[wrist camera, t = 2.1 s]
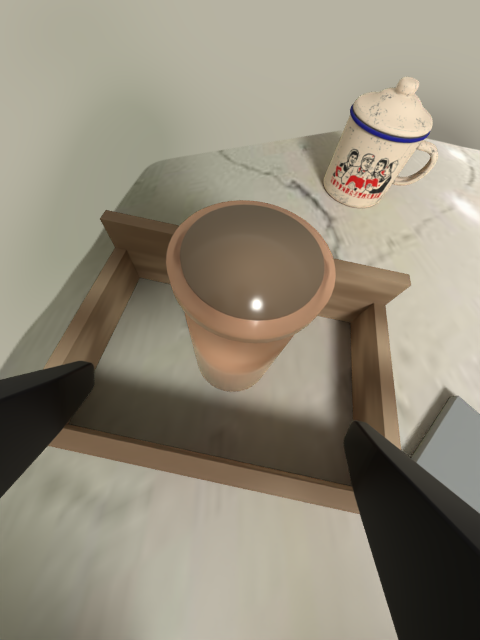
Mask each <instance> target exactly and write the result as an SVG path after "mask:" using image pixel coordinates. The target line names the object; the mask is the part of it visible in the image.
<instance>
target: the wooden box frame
mask: <svg viewBox="0 0 480 640" xmlns="http://www.w3.org/2000/svg"><path fill="white" fill-rule="evenodd" d="M100 220H101V222H102V224H103V225H104V227H105V229H106V231H107V233H108V235H109V237H110V238H111V240H112V242H113V244H114V246H115V249H114V250H113V252H112V254H111V255H110V257H109V259H108V260H107V262H106V264H105V265H104V267H103V269H102V271H101V272H100V274H99V276H98V277H97V279H96V281H95V282H94V284H93V286H92V287H91V289H90V291H89V292H88V294H87V296H86V298H85V299H84V301H83V303H82V304H81V306H80V308H79V309H78V311H77V313H76V314H75V316H74V318H73V319H72V321H71V323H70V325H69V326H68V328H67V330H66V331H65V333H64V335H63V336H62V338H61V340H60V341H59V343H58V345H57V346H56V348H55V350H54V352H53V353H52V355H51V357H50V358H49V360H48V362H47V363H46V365H45V367H44V368H43V369H47V368H51V367H55V366H59V365H64V364H68V363H72V362H76V361H86V362H91V363H93V364H94V371H95V369H96V366H97V364H98V362H99V360H100V358H101V356H102V354H103V352H104V350H105V348H106V346H107V344H108V342H109V340H110V338H111V336H112V334H113V332H114V330H115V328H116V325H117V323H118V321H119V319H120V317H121V315H122V313H123V311H124V309H125V307H126V305H127V303H128V301H129V299H130V297H131V295H132V293H133V291H134V289H135V287H136V284H137V282H138V280H139V278H144V279H149V280H154V281H158V282H163V283H168V284H171V283H170V280H169V276H168V273H167V266H166V255H167V250H168V245H169V243H170V240H171V238H172V236H173V234H174V233H175V231H176V230H177V228H178V227H179V226H178V225H174V224H169V223H164V222H160V221H155V220H150V219H146V218H141V217H136V216H131V215H127V214H122V213H117V212H113V211H108V210H106V211H105V212H104V214H103V215H102V216H101V218H100ZM334 264H335V272H336V279H335V285H334V289H333V292H332V295H331V297H330V299H329V301H328V302H327V304H326V305H325V307H324V308H323V309H322V310H321V312H320V313H319V314H318V315H317V316H322V317H326V318H331V319H335V320H340V321H345V322H349V323H350V329H351V366H352V402H353V420H357V421H362V422H366V423H368V424H369V425H370V426H371V427H373V428H374V429H375V430H376V431H378V432H379V433H380V434H381V435H383V436H384V437H385V438H386V439H388V440H389V441H390V442H391V443H393V444H394V445H395V446H396V447H398V448H399V449H400V450H401V444H400V435H399V426H398V417H397V408H396V398H395V389H394V380H393V371H392V362H391V353H390V343H389V334H388V325H387V316H386V307H385V305H386V304H387V303H389V302H390V301H391V300H393V299H394V298H395V297H396V296H398V295H399V294H400V293H402V292H403V291H404V290H405V289H407V288H408V287H409V286H411V282H410V276H409V275H408V274H404V273H399V272H394V271H390V270H385V269H380V268H376V267H371V266H366V265H361V264H357V263H352V262H347V261H343V260H338V259H334ZM70 420H71V419H70ZM70 420H69V422H70ZM69 422H68V423H67V424H66V425H65V427H64V428H63V429H62V430H61V431H60V433H59V434H58V435H57V436H56V437H55V438H54V439H53V441H52V442H51V443H50V444H49V445H48V446H52V447H56V448H61V449H65V450H70V451H74V452H79V453H84V454H88V455H93V456H97V457H102V458H106V459H111V460H115V461H120V462H125V463H129V464H134V465H138V466H143V467H147V468H152V469H156V470H161V471H166V472H170V473H175V474H179V475H184V476H188V477H193V478H197V479H202V480H207V481H211V482H216V483H220V484H225V485H229V486H234V487H238V488H243V489H248V490H252V491H257V492H261V493H266V494H270V495H275V496H279V497H284V498H289V499H293V500H298V501H302V502H307V503H311V504H316V505H320V506H325V507H330V508H334V509H339V510H343V511H348V512H352V513H357V514H360V513H359V509H358V506H357V503H356V499H355V496H354V492H353V488H352V486H349V485H344V484H339V483H335V482H330V481H326V480H321V479H317V478H312V477H307V476H303V475H298V474H294V473H289V472H285V471H280V470H275V469H271V468H266V467H262V466H257V465H253V464H248V463H244V462H239V461H234V460H230V459H225V458H221V457H216V456H212V455H207V454H202V453H198V452H193V451H189V450H184V449H180V448H175V447H170V446H166V445H161V444H157V443H152V442H148V441H143V440H138V439H134V438H129V437H125V436H120V435H116V434H111V433H106V432H102V431H97V430H93V429H88V428H84V427H79V426H74V425H70V424H69Z"/></svg>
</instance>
